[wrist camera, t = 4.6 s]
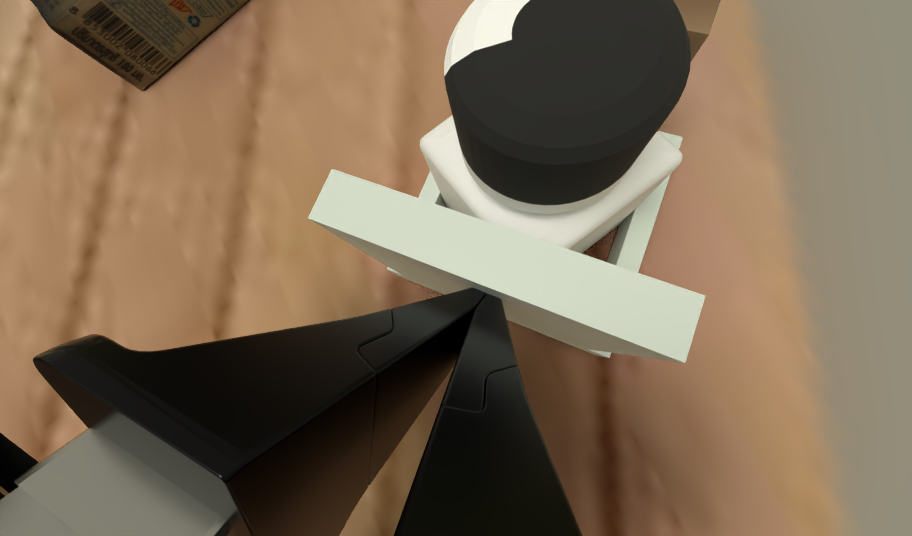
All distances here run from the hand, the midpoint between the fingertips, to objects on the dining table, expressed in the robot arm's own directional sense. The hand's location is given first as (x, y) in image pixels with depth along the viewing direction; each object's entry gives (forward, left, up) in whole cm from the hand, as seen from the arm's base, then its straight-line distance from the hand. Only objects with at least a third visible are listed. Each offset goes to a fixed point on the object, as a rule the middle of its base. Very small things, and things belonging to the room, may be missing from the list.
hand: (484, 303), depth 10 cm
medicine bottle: (+6, 0, -9) cm, 11 cm away
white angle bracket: (+6, 0, -9) cm, 11 cm away
